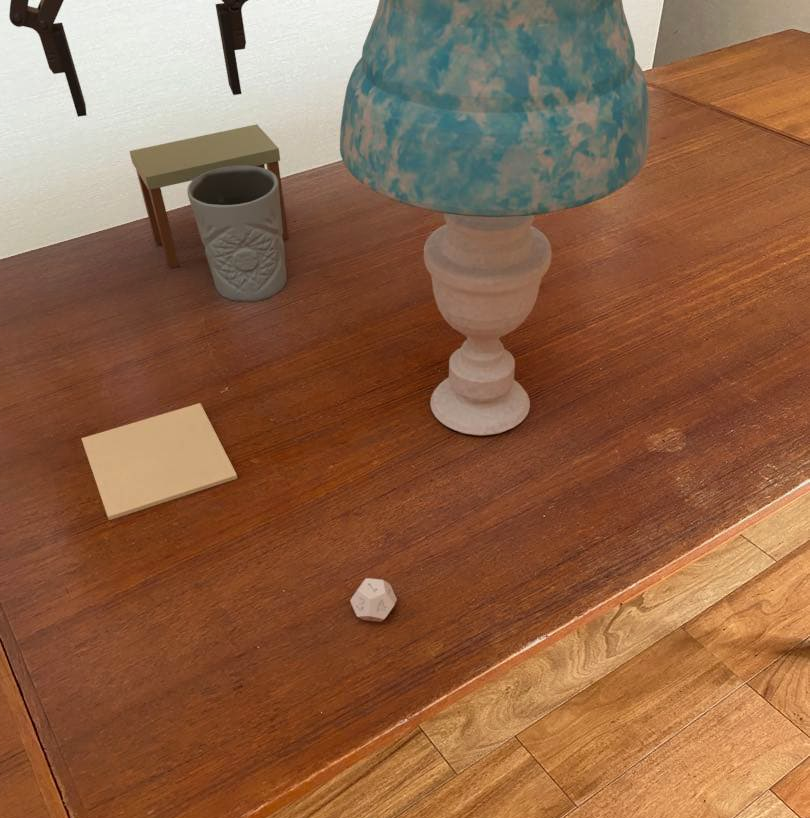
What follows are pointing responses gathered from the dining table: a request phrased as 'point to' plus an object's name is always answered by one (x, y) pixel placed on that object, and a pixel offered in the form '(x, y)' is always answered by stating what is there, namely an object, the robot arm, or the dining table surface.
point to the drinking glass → (241, 230)
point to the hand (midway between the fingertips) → (159, 100)
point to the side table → (199, 170)
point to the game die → (373, 600)
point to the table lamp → (493, 157)
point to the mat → (157, 460)
